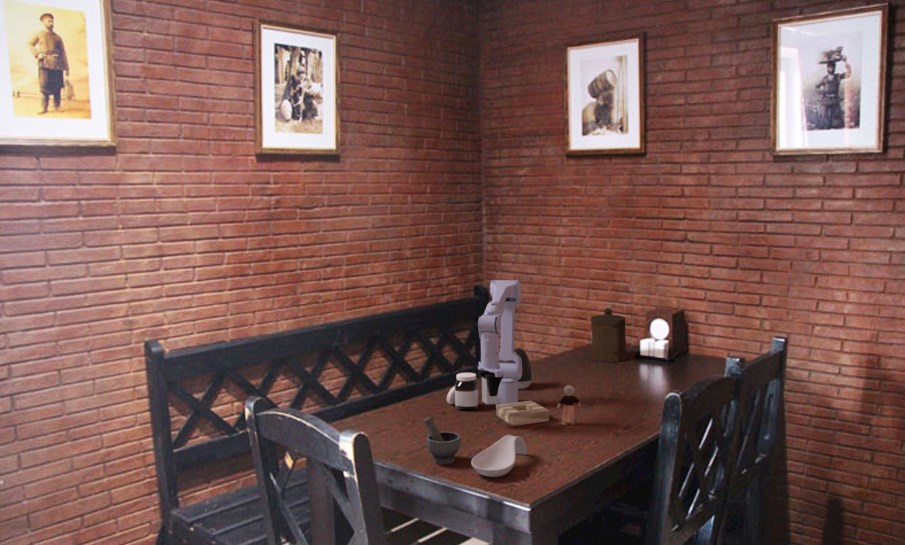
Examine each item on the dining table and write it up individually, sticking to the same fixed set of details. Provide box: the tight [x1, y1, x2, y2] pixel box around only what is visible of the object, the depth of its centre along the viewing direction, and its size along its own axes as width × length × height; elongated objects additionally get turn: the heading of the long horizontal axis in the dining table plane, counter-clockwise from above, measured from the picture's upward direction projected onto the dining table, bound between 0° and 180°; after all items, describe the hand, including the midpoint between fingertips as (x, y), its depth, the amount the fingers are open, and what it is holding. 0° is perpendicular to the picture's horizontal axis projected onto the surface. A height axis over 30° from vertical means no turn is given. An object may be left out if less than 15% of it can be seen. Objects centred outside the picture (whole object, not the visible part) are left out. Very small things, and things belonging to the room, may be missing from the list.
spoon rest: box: [470, 434, 529, 478], centre depth 221 cm, size 24×12×7 cm, turn 152°
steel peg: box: [481, 377, 499, 406], centre depth 257 cm, size 4×4×8 cm
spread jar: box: [446, 372, 479, 411], centre depth 280 cm, size 12×11×12 cm
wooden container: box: [590, 308, 627, 363], centre depth 349 cm, size 15×15×22 cm
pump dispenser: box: [507, 347, 534, 390], centre depth 304 cm, size 10×10×15 cm
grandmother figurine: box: [556, 384, 582, 426], centre depth 258 cm, size 8×4×13 cm, turn 105°
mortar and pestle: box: [423, 416, 462, 465], centre depth 227 cm, size 11×9×12 cm
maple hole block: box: [495, 400, 550, 427], centre depth 266 cm, size 13×13×4 cm
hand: (490, 394), depth 257 cm, fingers closed on steel peg, 4 cm apart
